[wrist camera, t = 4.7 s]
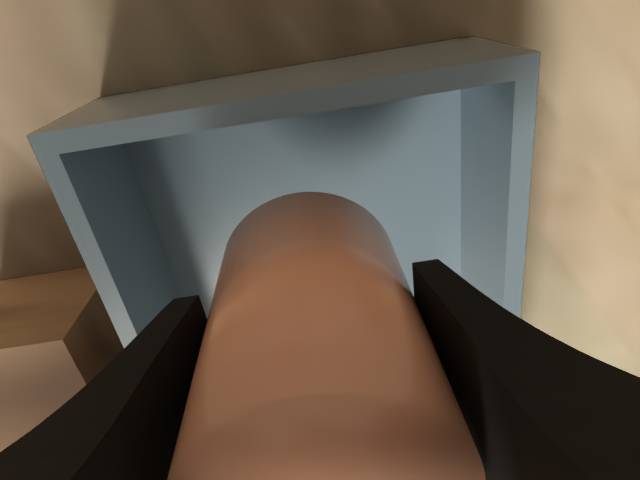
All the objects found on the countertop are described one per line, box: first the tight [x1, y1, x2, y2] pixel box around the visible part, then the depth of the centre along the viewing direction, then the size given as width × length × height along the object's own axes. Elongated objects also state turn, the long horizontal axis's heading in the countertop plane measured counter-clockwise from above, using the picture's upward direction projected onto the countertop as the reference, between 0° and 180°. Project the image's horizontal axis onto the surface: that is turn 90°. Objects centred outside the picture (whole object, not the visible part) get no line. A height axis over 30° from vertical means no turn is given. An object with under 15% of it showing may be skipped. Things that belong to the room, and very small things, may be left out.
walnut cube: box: [0, 267, 124, 452], centre depth 19 cm, size 5×5×5 cm
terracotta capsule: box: [167, 192, 485, 480], centre depth 10 cm, size 5×5×7 cm
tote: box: [26, 36, 540, 348], centre depth 18 cm, size 17×13×5 cm
